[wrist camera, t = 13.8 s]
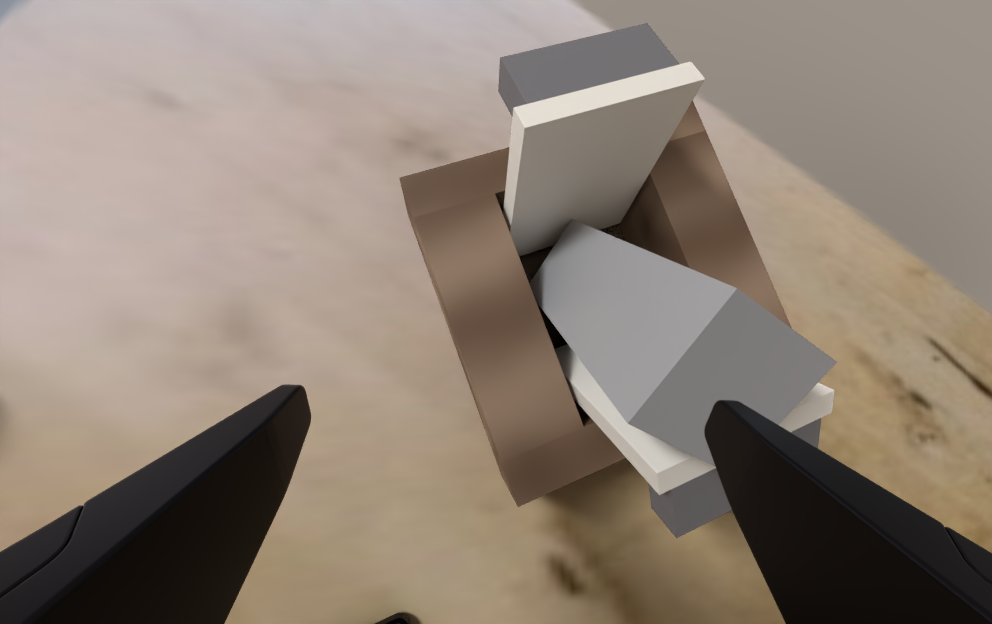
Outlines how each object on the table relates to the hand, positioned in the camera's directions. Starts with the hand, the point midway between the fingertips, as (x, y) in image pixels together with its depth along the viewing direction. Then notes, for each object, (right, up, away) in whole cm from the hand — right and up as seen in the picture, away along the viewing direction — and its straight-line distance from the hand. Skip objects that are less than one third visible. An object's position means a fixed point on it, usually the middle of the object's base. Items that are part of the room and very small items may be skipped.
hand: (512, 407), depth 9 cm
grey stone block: (+4, +4, +13) cm, 14 cm away
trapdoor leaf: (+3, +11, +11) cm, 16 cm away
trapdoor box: (+5, +3, +15) cm, 16 cm away
